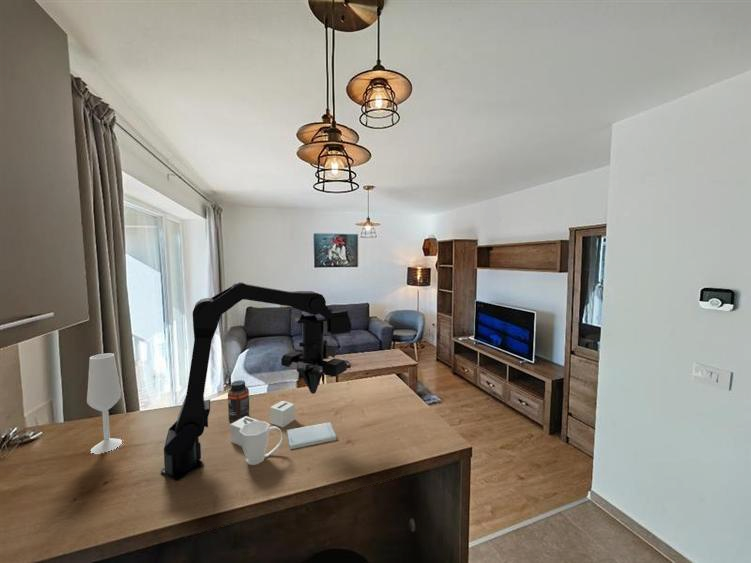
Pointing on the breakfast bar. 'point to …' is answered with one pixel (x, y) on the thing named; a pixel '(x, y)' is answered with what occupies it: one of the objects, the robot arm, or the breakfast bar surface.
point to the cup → (256, 441)
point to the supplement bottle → (238, 401)
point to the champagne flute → (103, 395)
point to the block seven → (236, 428)
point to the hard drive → (310, 435)
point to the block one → (282, 413)
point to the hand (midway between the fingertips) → (313, 393)
